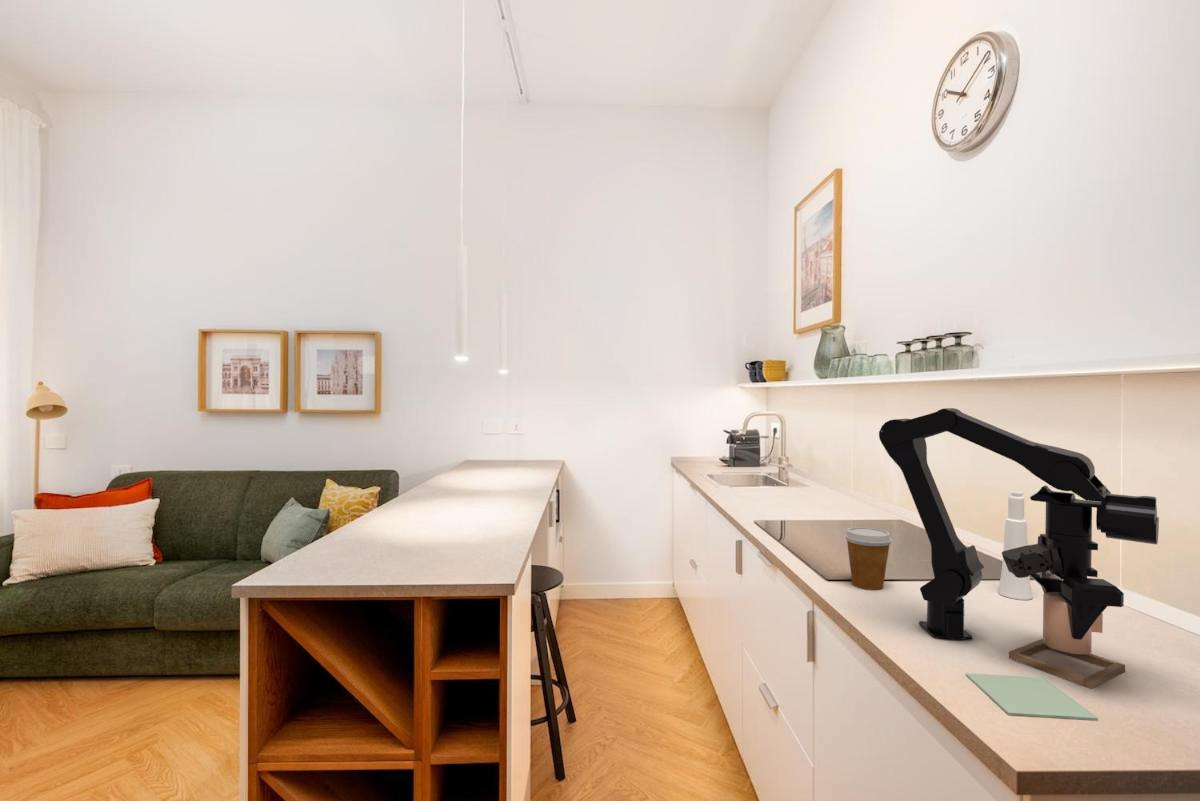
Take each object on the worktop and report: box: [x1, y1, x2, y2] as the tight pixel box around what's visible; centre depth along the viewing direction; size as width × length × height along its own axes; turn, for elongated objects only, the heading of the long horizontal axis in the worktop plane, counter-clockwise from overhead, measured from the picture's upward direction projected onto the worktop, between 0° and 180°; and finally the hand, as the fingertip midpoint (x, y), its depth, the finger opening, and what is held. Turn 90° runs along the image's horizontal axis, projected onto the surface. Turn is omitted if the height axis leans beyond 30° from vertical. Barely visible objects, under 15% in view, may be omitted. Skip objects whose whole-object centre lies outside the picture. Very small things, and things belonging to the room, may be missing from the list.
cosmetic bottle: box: [997, 490, 1034, 601], centre depth 124 cm, size 6×6×22 cm
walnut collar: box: [1008, 638, 1126, 689], centre depth 92 cm, size 11×11×1 cm
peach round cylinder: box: [1042, 592, 1104, 654], centre depth 92 cm, size 7×6×8 cm
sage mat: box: [965, 672, 1099, 721], centre depth 83 cm, size 11×11×1 cm
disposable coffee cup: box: [844, 526, 893, 591], centre depth 130 cm, size 10×10×12 cm
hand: (1066, 630), depth 92 cm, fingers closed on peach round cylinder, 6 cm apart
